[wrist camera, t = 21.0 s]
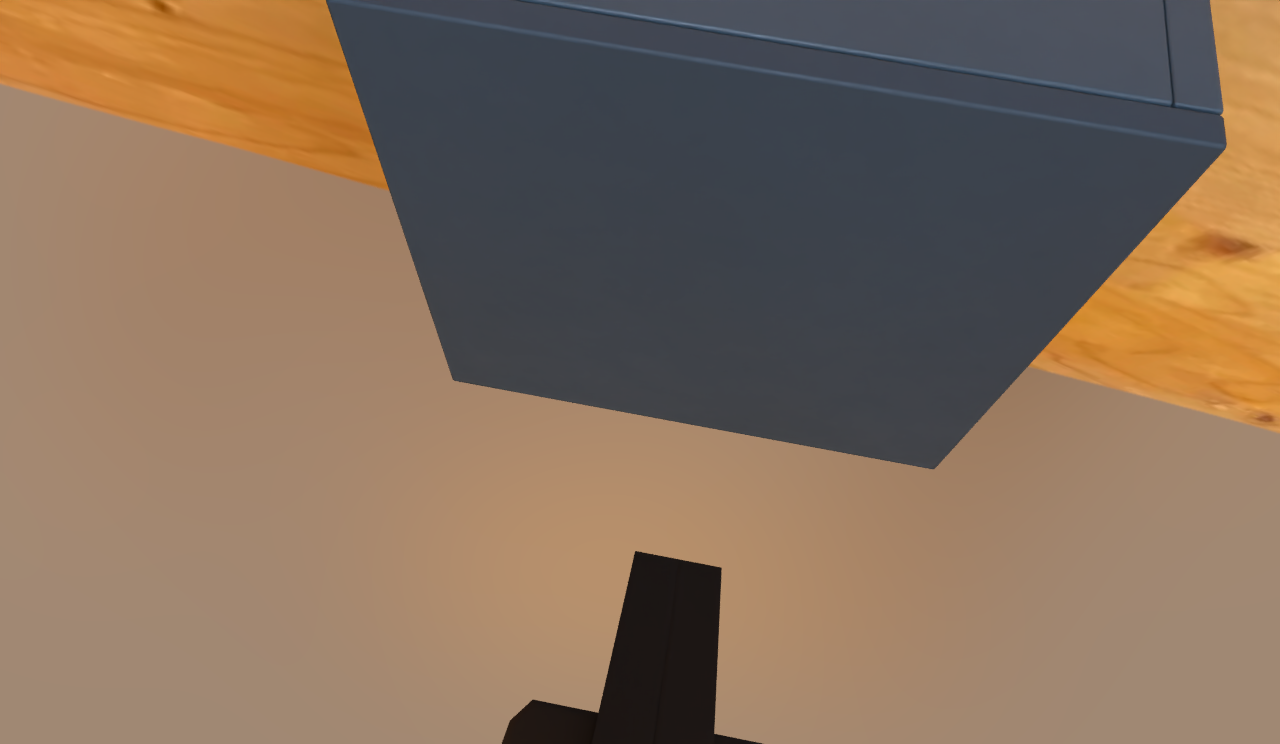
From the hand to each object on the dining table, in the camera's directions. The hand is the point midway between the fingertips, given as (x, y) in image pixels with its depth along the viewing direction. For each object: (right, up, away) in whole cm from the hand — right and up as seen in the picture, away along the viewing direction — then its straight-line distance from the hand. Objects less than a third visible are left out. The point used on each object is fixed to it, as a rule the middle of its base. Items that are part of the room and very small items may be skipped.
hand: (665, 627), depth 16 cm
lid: (+2, +7, +9) cm, 11 cm away
